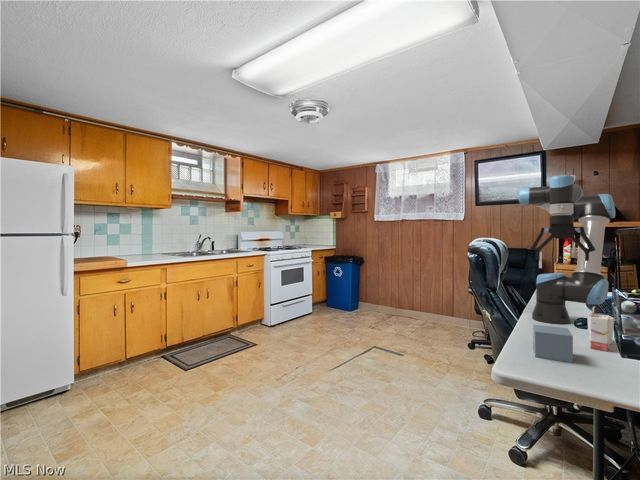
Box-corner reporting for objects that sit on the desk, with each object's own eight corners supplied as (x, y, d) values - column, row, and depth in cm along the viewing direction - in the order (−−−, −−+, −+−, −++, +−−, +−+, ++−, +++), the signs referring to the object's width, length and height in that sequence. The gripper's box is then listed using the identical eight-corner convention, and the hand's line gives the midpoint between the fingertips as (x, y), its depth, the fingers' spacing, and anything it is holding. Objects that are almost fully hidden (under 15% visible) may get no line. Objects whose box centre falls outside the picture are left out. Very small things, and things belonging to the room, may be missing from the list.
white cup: (603, 339, 128) (603, 314, 128) (619, 345, 120) (619, 319, 120) (582, 338, 129) (582, 313, 129) (596, 345, 121) (597, 318, 121)
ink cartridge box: (608, 352, 114) (608, 311, 114) (590, 348, 117) (590, 308, 117) (610, 346, 120) (610, 307, 120) (592, 343, 123) (592, 305, 123)
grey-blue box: (533, 347, 118) (533, 324, 118) (567, 352, 113) (567, 328, 113) (535, 356, 109) (535, 331, 109) (572, 362, 104) (572, 336, 104)
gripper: (524, 215, 129) (524, 268, 129) (605, 213, 116) (605, 271, 116) (523, 216, 135) (523, 266, 135) (600, 214, 123) (600, 269, 123)
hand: (561, 268), depth 126 cm, fingers open, 13 cm apart
